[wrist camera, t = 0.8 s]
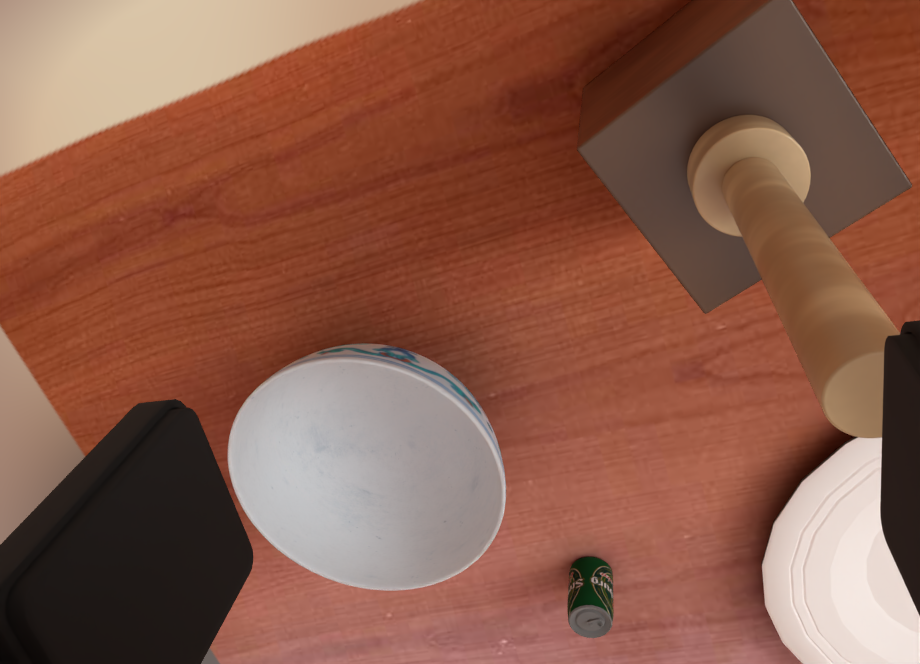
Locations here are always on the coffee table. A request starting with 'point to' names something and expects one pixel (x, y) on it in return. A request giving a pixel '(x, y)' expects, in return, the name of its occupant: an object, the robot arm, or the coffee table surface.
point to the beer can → (590, 597)
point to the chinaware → (369, 467)
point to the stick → (796, 264)
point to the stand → (713, 100)
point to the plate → (839, 568)
